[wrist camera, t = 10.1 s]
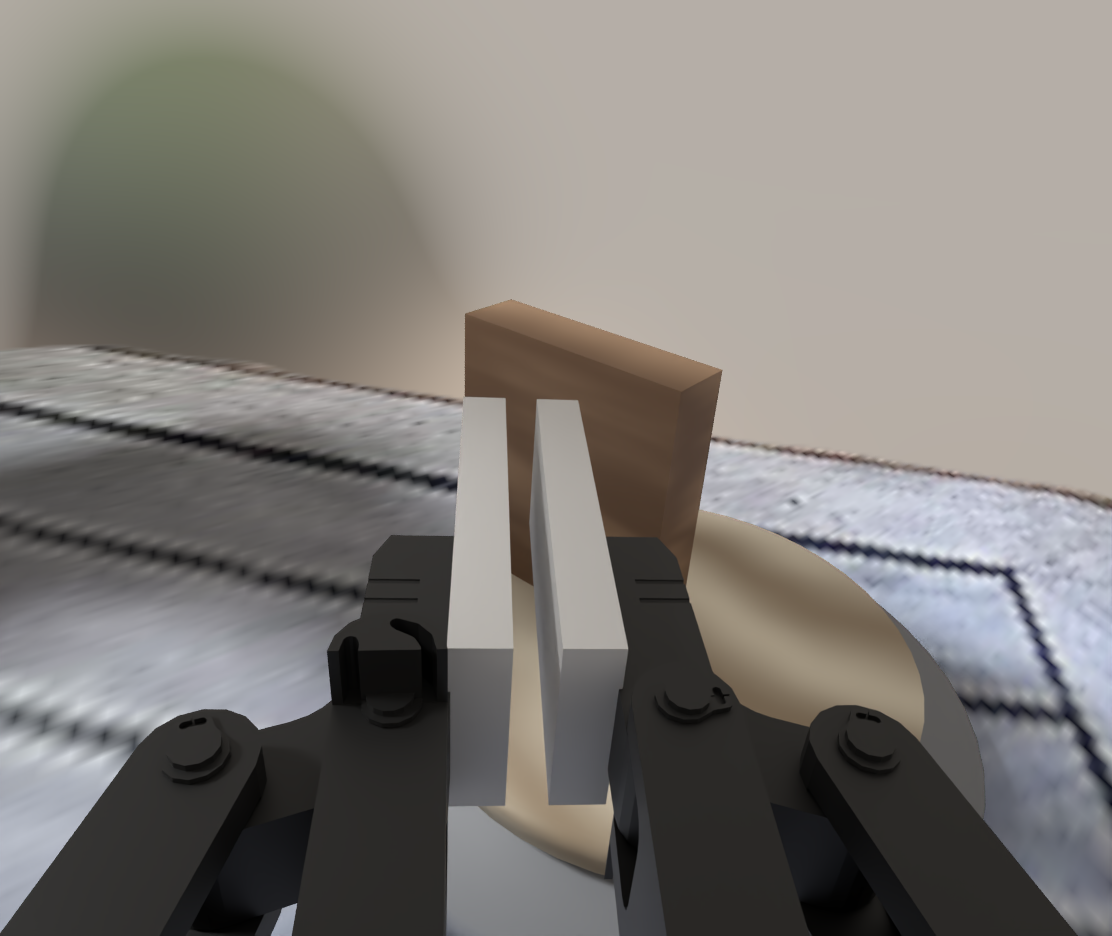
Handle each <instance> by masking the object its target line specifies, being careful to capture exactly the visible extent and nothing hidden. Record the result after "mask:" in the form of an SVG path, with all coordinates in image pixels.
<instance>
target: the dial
mask: <svg viewBox="0 0 1112 936" xmlns="http://www.w3.org/2000/svg"><path fill="white" fill-rule="evenodd" d="M721 375H722V370H721V369H718V368H715V367H712V366H709V365H706V364H703V363H700V362H697V361H694V360H691V359H688V358H685V357H682V356H679V355H676V354H673V353H670V352H667V351H663V350H661V349H658V348H655V347H652V346H649V345H646V344H643V343H640V342H637V341H634V340H631V339H628V338H625V337H622V336H619V335H616V334H613V333H610V332H607V331H604V330H601V329H598V328H595V327H592V326H589V325H586V324H583V323H580V322H577V321H574V320H571V319H568V318H565V317H562V316H559V315H556V314H553V313H550V312H547V311H544V310H541V309H538V308H535V307H532V306H529V305H526V304H523V303H520V302H517V301H515V300H508V301H504V302H501V303H499V304H495V305H492V306H489V307H485V308H482V309H479V310H475V311H472V312H469V313H466V314H465V397H486V398H506V430H507V461H508V492H509V524H510V555H511V586H512V617H513V667H512V686H511V705H510V724H509V743H508V762H507V781H506V799H505V806H478V807H479V808H480V809H481V810H483V811H484V812H485V813H486V814H487V815H488V816H489V817H490V818H492V819H493V820H494V821H496V822H497V823H499V824H500V825H502V826H503V827H504V828H506V829H507V830H509V831H510V832H512V833H513V834H514V835H516V836H517V837H519V838H520V839H522V840H523V841H525V842H527V843H529V844H531V845H533V846H535V847H537V848H539V849H541V850H542V851H544V852H546V853H548V854H550V855H552V856H554V857H556V858H558V859H560V860H563V861H566V862H568V863H571V864H573V865H576V866H579V867H581V868H584V869H586V870H589V871H592V872H594V873H597V874H601V875H605V867H606V860H607V853H608V847H609V840H610V834H611V827H612V821H613V814H614V811H613V804H612V797H611V790H610V783H609V786H608V793H607V800H606V804H603V805H549V803H548V789H547V774H546V759H545V745H544V730H543V715H542V701H541V686H540V671H539V657H538V642H537V627H536V613H535V598H534V584H533V569H532V554H531V540H530V525H529V521H530V504H531V487H532V471H533V454H534V437H535V420H536V404H537V399H551V400H578V403H579V407H580V412H581V417H582V422H583V427H584V432H585V437H586V442H587V447H588V452H589V457H590V462H591V467H592V472H593V477H594V482H595V487H596V491H597V496H598V501H599V506H600V511H601V516H602V521H603V526H604V531H605V536H606V537H657V538H658V539H659V540H660V541H661V542H662V543H663V544H664V545H665V546H666V547H667V548H668V549H669V550H670V551H671V552H672V553H673V554H674V555H675V556H676V557H677V560H678V563H679V567H680V570H681V573H682V576H683V579H684V584H685V586H686V589H687V592H688V595H689V598H690V599H689V602H690V603H691V604H692V608H693V611H694V614H695V617H696V620H697V623H698V627H699V630H700V633H701V636H702V639H703V642H704V645H705V649H706V652H707V655H708V658H709V661H710V664H711V668H712V671H713V673H714V674H716V675H717V676H718V677H720V678H721V679H722V680H723V681H724V682H725V683H727V684H728V685H729V686H730V687H731V688H732V689H733V691H734V693H735V695H736V697H737V698H738V700H739V702H740V704H742V705H744V706H746V707H748V708H749V709H751V710H753V711H755V712H758V713H761V714H764V715H766V716H769V717H772V718H776V719H780V720H784V721H788V722H792V723H796V724H800V725H804V726H808V727H810V724H811V722H812V721H813V720H814V719H815V717H816V716H817V715H818V714H819V712H821V711H823V710H826V709H828V708H831V707H833V706H836V705H858V706H862V707H866V708H870V709H873V710H877V711H880V712H882V713H883V714H885V715H887V716H889V717H891V718H893V719H894V720H896V721H898V722H900V723H901V724H902V725H903V726H904V727H905V728H906V729H907V730H908V731H910V732H911V733H912V734H913V735H914V736H915V737H916V738H917V739H918V740H919V742H920V740H921V735H922V730H923V725H924V694H923V689H922V684H921V679H920V674H919V671H918V669H917V666H916V664H915V661H914V658H913V656H912V653H911V651H910V649H909V647H908V646H907V644H906V642H905V640H904V639H903V637H902V635H901V633H900V632H899V630H898V629H897V627H896V626H895V625H894V623H893V622H892V621H891V619H890V618H889V617H888V615H887V614H886V613H885V612H884V610H883V609H882V608H881V607H880V606H879V605H878V604H877V603H876V602H875V601H874V600H873V599H872V598H871V597H870V596H869V595H868V593H867V592H866V591H865V590H863V589H862V588H861V587H860V586H859V585H857V584H856V583H855V582H854V581H853V580H852V579H850V578H849V577H848V576H847V575H846V574H844V573H843V572H841V571H840V570H839V569H837V568H836V567H834V566H833V565H831V564H830V563H829V562H827V561H826V560H824V559H823V558H821V557H819V556H818V555H816V554H814V553H812V552H811V551H809V550H807V549H805V548H804V547H802V546H800V545H798V544H796V543H794V542H792V541H790V540H788V539H786V538H784V537H782V536H780V535H777V534H775V533H773V532H770V531H768V530H765V529H763V528H760V527H757V526H755V525H752V524H749V523H746V522H743V521H740V520H737V519H734V518H730V517H727V516H723V515H719V514H715V513H711V512H707V511H703V510H699V506H700V500H701V494H702V488H703V482H704V476H705V470H706V464H707V458H708V452H709V446H710V440H711V434H712V428H713V423H714V416H715V411H716V405H717V399H718V393H719V387H720V381H721Z"/></svg>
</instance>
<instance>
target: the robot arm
mask: <svg viewBox="0 0 1112 936" xmlns="http://www.w3.org/2000/svg"><path fill="white" fill-rule="evenodd" d="M529 525H530V540H531V554H532V569H533V584H534V598H535V613H536V627H537V642H538V657H539V671H540V686H541V701H542V715H543V730H544V745H545V759H546V774H547V789H548V803H549V805H603V804H606V800H607V793H608V786H609V783H610V790H611V797H612V804H613V811H614V814H613V821H612V827H611V834H610V840H609V847H608V853H607V860H606V867H605V875H604V879H613V878H614V888H615V898H616V908H617V918H618V928H619V936H1078V935H1077V934H1076V933H1075V932H1074V931H1073V929H1072V928H1071V927H1070V926H1069V924H1068V923H1067V922H1066V921H1065V920H1064V918H1063V917H1062V916H1061V915H1060V913H1059V912H1058V911H1057V910H1056V908H1055V907H1054V906H1053V905H1052V904H1051V902H1050V901H1049V900H1048V899H1047V897H1046V896H1045V895H1044V894H1043V893H1042V891H1041V890H1040V889H1039V888H1038V886H1037V885H1036V884H1035V883H1034V882H1033V880H1032V879H1031V878H1030V877H1029V875H1028V874H1027V873H1026V872H1025V870H1024V869H1023V868H1022V867H1021V866H1020V864H1019V863H1018V862H1017V861H1016V859H1015V858H1014V857H1013V856H1012V855H1011V853H1010V852H1009V851H1008V850H1007V848H1006V847H1005V846H1004V845H1003V843H1002V842H1001V841H1000V840H999V839H998V837H997V836H996V835H995V834H994V832H993V831H992V830H991V829H990V828H989V826H988V825H987V824H986V823H985V821H984V820H983V819H982V818H981V816H980V815H979V814H978V813H977V812H976V810H975V809H974V808H973V807H972V805H971V804H970V803H969V802H968V801H967V799H966V798H965V797H964V796H963V794H962V793H961V792H960V791H959V789H958V788H957V787H956V786H955V785H954V783H953V782H952V781H951V780H950V778H949V777H948V776H947V775H946V774H945V772H944V771H943V770H942V769H941V767H940V766H939V765H938V764H937V762H936V761H935V760H934V759H933V758H932V756H931V755H930V754H929V753H928V751H927V750H926V749H925V748H924V747H923V745H922V744H921V743H920V742H919V740H918V739H917V738H916V737H915V736H914V735H913V734H912V733H911V732H910V731H908V730H907V729H906V728H905V727H904V726H903V725H902V724H901V723H900V722H898V721H896V720H894V719H893V718H891V717H889V716H887V715H885V714H883V713H882V712H880V711H877V710H873V709H870V708H866V707H862V706H858V705H836V706H833V707H831V708H828V709H826V710H823V711H821V712H819V714H818V715H817V716H816V717H815V719H814V720H813V721H812V722H811V724H810V727H808V726H804V725H800V724H796V723H792V722H788V721H784V720H780V719H776V718H772V717H769V716H766V715H764V714H761V713H758V712H755V711H753V710H751V709H749V708H748V707H746V706H744V705H742V704H740V702H739V700H738V698H737V697H736V695H735V693H734V691H733V689H732V688H731V687H730V686H729V685H728V684H727V683H725V682H724V681H723V680H722V679H721V678H720V677H718V676H717V675H716V674H714V673H713V671H712V668H711V664H710V661H709V658H708V655H707V652H706V649H705V645H704V642H703V639H702V636H701V633H700V630H699V627H698V623H697V620H696V617H695V614H694V611H693V608H692V604H691V603H690V602H689V599H690V598H689V595H688V592H687V589H686V586H685V584H684V579H683V576H682V573H681V570H680V567H679V563H678V560H677V557H676V556H675V555H674V554H673V553H672V552H671V551H670V550H669V549H668V548H667V547H666V546H665V545H664V544H663V543H662V542H661V541H660V540H659V539H658V538H657V537H606V536H605V531H604V526H603V521H602V516H601V511H600V506H599V501H598V496H597V491H596V487H595V482H594V477H593V472H592V467H591V462H590V457H589V452H588V447H587V442H586V437H585V432H584V427H583V422H582V417H581V412H580V407H579V403H578V400H551V399H537V404H536V420H535V437H534V454H533V471H532V487H531V504H530V521H529ZM327 656H328V666H329V676H330V687H331V697H332V700H331V701H330V702H329V703H328V704H326V705H325V706H324V707H323V708H321V709H319V710H317V711H315V712H314V713H312V714H310V715H308V716H306V717H303V718H300V719H297V720H294V721H291V722H288V723H284V724H280V725H276V726H272V727H268V728H265V729H261V730H258V728H257V727H256V726H255V725H254V724H253V723H252V722H251V721H250V720H249V719H248V718H247V717H246V716H243V715H240V714H237V713H235V712H232V711H229V710H213V709H203V710H199V711H195V712H191V713H188V714H184V715H180V716H177V717H176V718H174V719H172V720H170V721H168V722H166V723H165V724H163V725H161V726H159V727H157V728H156V729H155V730H154V731H153V732H152V733H151V734H150V735H149V736H147V737H146V738H145V739H144V740H143V741H142V742H141V743H140V744H139V745H138V747H137V748H136V749H135V751H134V752H133V753H132V755H131V756H130V757H129V759H128V760H127V762H126V763H125V764H124V766H123V767H122V768H121V770H120V771H119V772H118V774H117V775H116V777H115V778H114V779H113V781H112V782H111V783H110V785H109V786H108V787H107V789H106V790H105V792H104V793H103V794H102V796H101V797H100V798H99V800H98V801H97V802H96V804H95V805H94V806H93V808H92V809H91V811H90V812H89V813H88V815H87V816H86V817H85V819H84V820H83V821H82V823H81V824H80V826H79V827H78V828H77V830H76V831H75V832H74V834H73V835H72V836H71V838H70V839H69V841H68V842H67V843H66V845H65V846H64V847H63V849H62V850H61V851H60V853H59V854H58V855H57V857H56V858H55V860H54V861H53V862H52V864H51V865H50V866H49V868H48V869H47V870H46V872H45V873H44V875H43V876H42V877H41V879H40V880H39V881H38V883H37V884H36V885H35V887H34V888H33V890H32V891H31V892H30V894H29V895H28V896H27V898H26V899H25V900H24V902H23V903H22V904H21V906H20V907H19V909H18V910H17V911H16V913H15V914H14V915H13V917H12V918H11V919H10V921H9V922H8V924H7V925H6V926H5V928H4V929H3V930H2V932H1V933H0V936H271V933H272V931H273V929H274V927H275V924H276V922H277V920H278V918H279V915H280V913H281V909H282V908H284V907H287V906H290V905H293V904H296V903H297V909H296V914H295V920H294V926H293V932H292V936H446V928H447V861H448V807H452V806H505V799H506V781H507V762H508V743H509V724H510V705H511V686H512V667H513V617H512V586H511V555H510V524H509V492H508V461H507V430H506V398H486V397H464V398H463V413H462V427H461V442H460V457H459V472H458V487H457V502H456V516H455V531H454V536H401V535H391V536H390V537H389V538H388V539H387V541H386V542H385V543H384V544H383V545H382V546H381V547H380V548H379V549H378V551H377V552H376V553H375V554H374V555H373V559H372V564H371V568H370V573H369V578H368V583H367V588H366V593H365V600H364V603H363V608H362V612H361V617H360V619H357V620H355V621H353V622H350V623H349V624H348V625H347V626H345V627H344V628H343V629H342V630H341V631H339V632H338V633H337V634H336V635H335V636H334V638H333V640H332V642H331V644H330V646H329V648H328V650H327Z"/></svg>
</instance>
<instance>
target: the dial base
mask: <svg viewBox="0 0 1112 936" xmlns="http://www.w3.org/2000/svg"><path fill="white" fill-rule="evenodd" d="M878 605H879V604H878ZM879 606H880V605H879ZM880 607H881V606H880ZM881 608H882V609H883V610H884V612H885V613H886V614H887V615H888V617H889V618H890V619H891V621H892V622H893V623H894V625H895V626H896V627H897V629H898V630H899V632H900V633H901V635H902V637H903V639H904V640H905V642H906V644H907V646H908V647H909V649H910V651H911V653H912V656H913V658H914V661H915V664H916V666H917V669H918V671H919V674H920V679H921V684H922V689H923V694H924V725H923V730H922V735H921V740H920V743H921V744H922V745H923V747H924V748H925V749H926V750H927V751H928V753H929V754H930V755H931V756H932V758H933V759H934V760H935V761H936V762H937V764H938V765H939V766H940V767H941V769H942V770H943V771H944V772H945V774H946V775H947V776H948V777H949V778H950V780H951V781H952V782H953V783H954V785H955V786H956V787H957V788H958V789H959V791H960V792H961V793H962V794H963V796H964V797H965V798H966V799H967V801H968V802H969V803H970V804H971V805H972V807H973V808H974V809H975V810H976V812H977V813H978V814H979V815H980V816H981V818H982V819H983V817H984V810H985V785H984V769H983V765H982V760H981V756H980V751H979V747H978V742H977V738H976V736H975V733H974V731H973V728H972V726H971V723H970V720H969V718H968V715H967V713H966V710H965V708H964V706H963V704H962V703H961V701H960V699H959V697H958V695H957V694H956V692H955V690H954V688H953V687H952V685H951V683H950V681H949V680H948V678H947V677H946V675H945V674H944V673H943V671H942V670H941V669H940V667H939V666H938V665H937V663H936V662H935V661H934V659H933V658H932V657H931V655H930V654H929V653H928V651H927V650H926V649H925V648H924V647H923V646H922V645H921V644H920V643H919V642H918V641H917V640H916V639H915V637H914V636H913V635H912V634H911V633H910V632H909V631H908V630H907V629H906V628H905V627H904V626H903V625H902V624H901V623H899V622H898V621H897V620H896V619H895V618H894V617H893V616H892V615H890V614H889V613H888V612H887V611H886V610H885V609H884V608H883V607H881ZM446 936H619V928H618V918H617V908H616V898H615V888H614V878H613V879H604V875H601V874H597V873H594V872H592V871H589V870H586V869H584V868H581V867H579V866H576V865H573V864H571V863H568V862H566V861H563V860H560V859H558V858H556V857H554V856H552V855H550V854H548V853H546V852H544V851H542V850H541V849H539V848H537V847H535V846H533V845H531V844H529V843H527V842H525V841H523V840H522V839H520V838H519V837H517V836H516V835H514V834H513V833H512V832H510V831H509V830H507V829H506V828H504V827H503V826H502V825H500V824H499V823H497V822H496V821H494V820H493V819H492V818H490V817H489V816H488V815H487V814H486V813H485V812H484V811H483V810H481V809H480V808H479V807H478V806H452V807H448V861H447V928H446Z"/></svg>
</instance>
